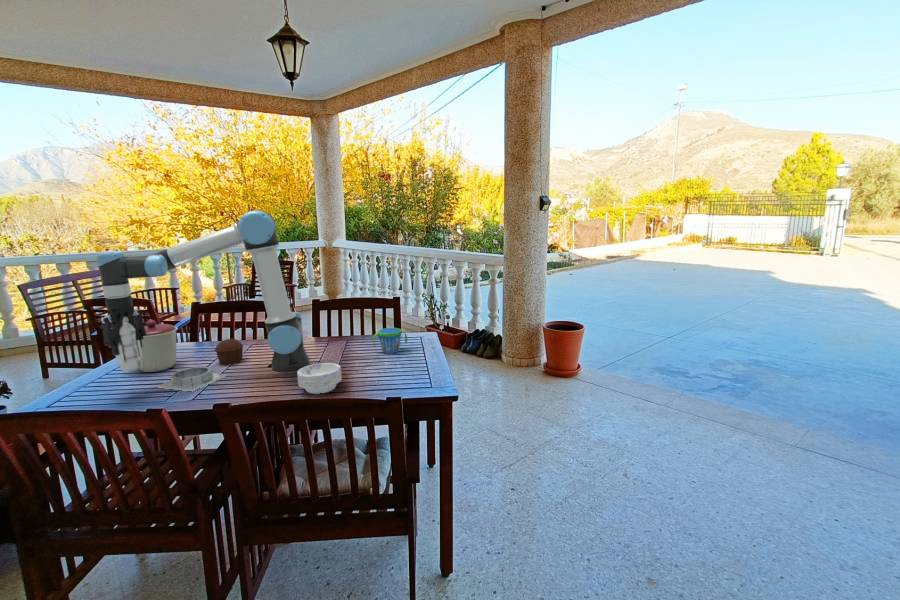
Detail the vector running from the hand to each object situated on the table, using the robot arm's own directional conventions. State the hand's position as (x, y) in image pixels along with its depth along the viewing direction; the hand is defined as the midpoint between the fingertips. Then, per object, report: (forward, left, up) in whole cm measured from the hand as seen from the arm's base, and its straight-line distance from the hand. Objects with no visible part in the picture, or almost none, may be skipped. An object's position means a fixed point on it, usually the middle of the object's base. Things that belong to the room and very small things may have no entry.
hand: (130, 360), depth 157 cm
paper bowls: (-64, -20, -13) cm, 68 cm away
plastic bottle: (0, 0, -4) cm, 4 cm away
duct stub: (-11, -15, -13) cm, 22 cm away
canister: (+18, -25, -13) cm, 34 cm away
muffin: (-7, -39, -13) cm, 42 cm away
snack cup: (-71, -67, -13) cm, 98 cm away
